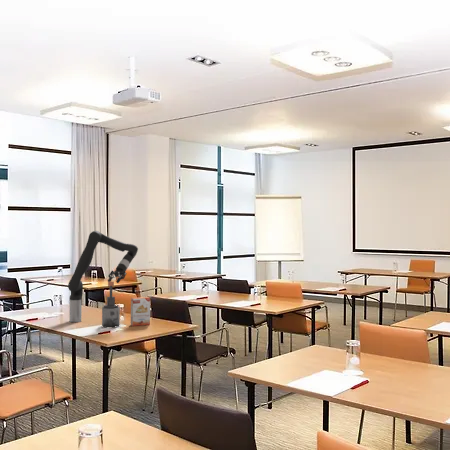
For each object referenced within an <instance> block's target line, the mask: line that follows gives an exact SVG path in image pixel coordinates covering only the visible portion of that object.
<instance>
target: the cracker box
mask: <svg viewBox="0 0 450 450" xmlns="http://www.w3.org/2000/svg"><path fill="white" fill-rule="evenodd" d="M149 325H151V298H150V297H147V296H144V297H131V298H130V326H131V327H137V326H139V327H140V326H149Z"/></svg>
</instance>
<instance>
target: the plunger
mask: <svg viewBox="0 0 450 450" xmlns="http://www.w3.org/2000/svg"><path fill="white" fill-rule="evenodd" d="M107 286H108V287H109V297H112V296H113V287H114V286H115V281H112V280H111V281H110V282H108V281H107Z"/></svg>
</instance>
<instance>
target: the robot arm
mask: <svg viewBox="0 0 450 450" xmlns="http://www.w3.org/2000/svg"><path fill="white" fill-rule="evenodd" d="M99 243H100V244H104V245H106V246H109V247H111V248H112V249H115V250H117V251H120V252H125V251H127V253H126V254H125V255H124V256H123V257H122V259H121V260H120V262H119V263H118V265H116V268H115V270H111V271H110V273H109V274H108V279H107V283H108V282H111V281H112V280H113V279H114V278H117V279H116V281H115V282H116V283H117V284H119V283H120V282H121V280H124V279H125V277H126V276H127V273H128V272H127V270H128V268H130V267H129V266H130V264H131V263H132V261H133V260H134V258H136V256H137V253H138V251H139V248H138V246H137V245H135V244H132V243H125V242H122V241H120V240H118V239H114V238H112V237H109V236H107V235H106V234H104V233H101V232H100V231H99V230H93V231H91V232H90V233H89V235H88V238H87V241H86V245H85V247H84V250H83V251H82V253H81V254H80V257H79V259H78V262H77V265H76V267H75V269H74V271H73V273H72V276H71V278H70V279H69V282H68V283H67V287H68V290H69V291H70V292H71V294H70V295H69V322H71V323H80V322H82V312H83V311H82V308H83V307H82V305H83V304H82V301H83V300H82V297H83V292H84V291H83V290H84V285H83V284H84V283H83V281H82V278H83V276H84V274H86V272H87V271H88V269H89V268H90V266H91V263H92V262H93V261H92V260H93V258H94V257H93V256H94V253H95V249H96V248H97V246H98V244H99Z"/></svg>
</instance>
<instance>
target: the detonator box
mask: <svg viewBox="0 0 450 450" xmlns="http://www.w3.org/2000/svg"><path fill="white" fill-rule="evenodd" d="M116 305H117V306H116ZM120 309H121V307H120V306H119V304H116V296H113V295H112V297H110V296H106V304H104V305H103V306H102V308H101V327H102V326H103V327H102V328H107V327H112V328H116V327H115V326H118V327H120V326H121V325H120V324H121V323H120V318H121V317H120V316H121V315H120V313H121V312H120ZM119 325H120V326H119Z"/></svg>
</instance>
